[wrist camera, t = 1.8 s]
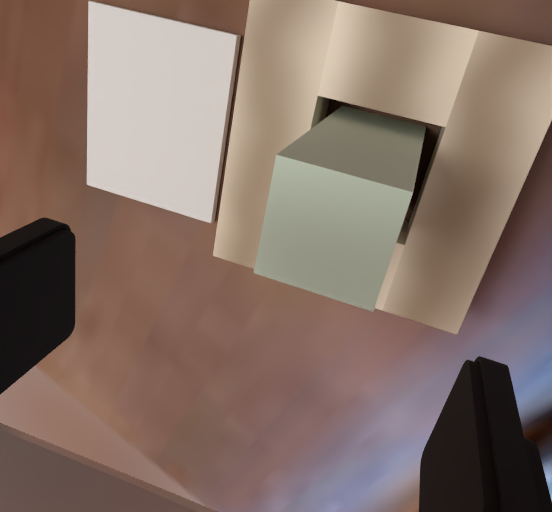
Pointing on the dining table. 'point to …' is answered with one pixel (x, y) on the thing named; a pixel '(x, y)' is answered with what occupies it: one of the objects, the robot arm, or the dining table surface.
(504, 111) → the square hole frame
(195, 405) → the dining table surface
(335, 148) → the sage block
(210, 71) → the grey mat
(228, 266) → the dining table surface
